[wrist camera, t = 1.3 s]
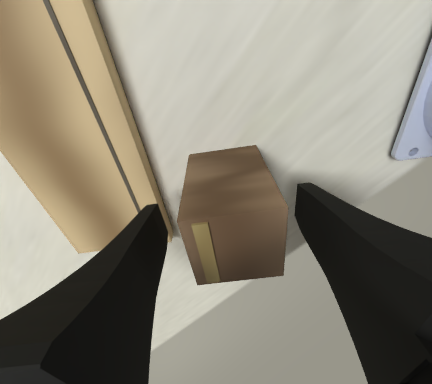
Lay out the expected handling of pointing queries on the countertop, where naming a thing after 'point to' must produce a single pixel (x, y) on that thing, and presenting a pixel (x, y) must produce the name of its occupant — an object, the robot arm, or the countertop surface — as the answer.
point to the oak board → (71, 121)
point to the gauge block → (232, 217)
